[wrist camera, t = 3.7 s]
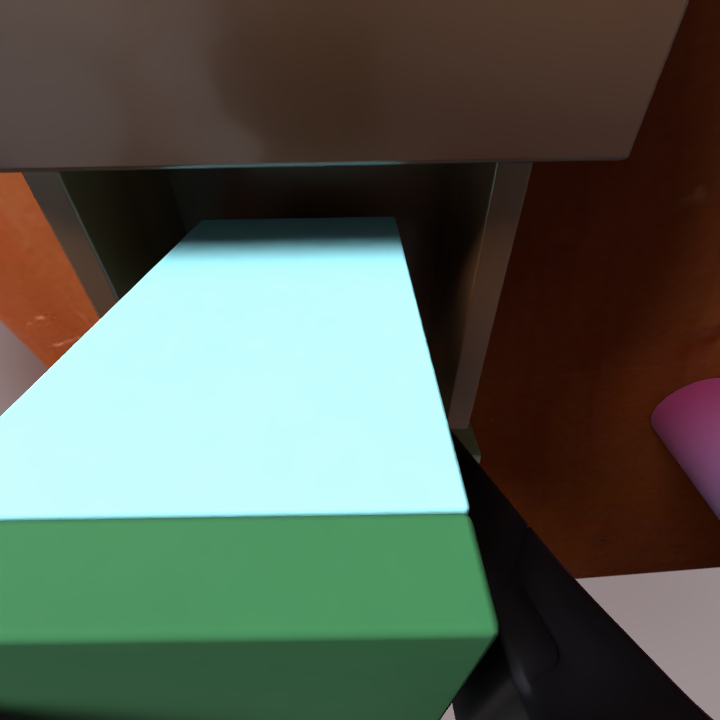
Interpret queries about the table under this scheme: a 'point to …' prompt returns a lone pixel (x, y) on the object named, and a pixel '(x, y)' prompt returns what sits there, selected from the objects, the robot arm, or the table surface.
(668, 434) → the cup
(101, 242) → the drawer
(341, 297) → the sponge
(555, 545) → the table surface
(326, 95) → the cabinet
